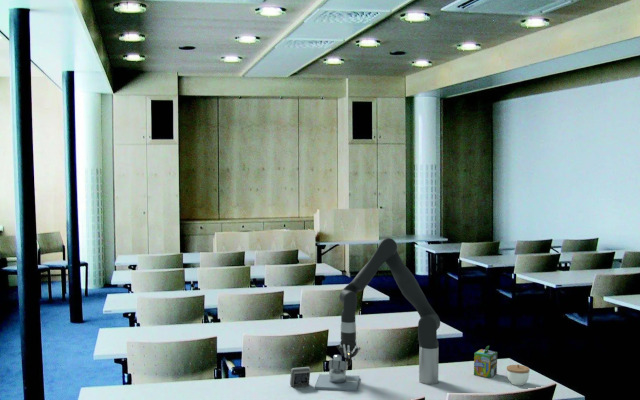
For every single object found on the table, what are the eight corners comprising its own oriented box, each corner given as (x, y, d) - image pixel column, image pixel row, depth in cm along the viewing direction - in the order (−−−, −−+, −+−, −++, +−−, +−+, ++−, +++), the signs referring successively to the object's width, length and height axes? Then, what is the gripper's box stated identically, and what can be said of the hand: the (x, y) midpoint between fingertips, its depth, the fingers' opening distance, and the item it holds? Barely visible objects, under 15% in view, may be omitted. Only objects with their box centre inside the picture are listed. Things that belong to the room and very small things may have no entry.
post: (346, 378, 351) (346, 353, 350) (345, 383, 343) (345, 358, 342) (330, 378, 351) (330, 353, 351) (328, 383, 344) (328, 357, 343)
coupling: (336, 369, 358) (337, 360, 359) (352, 370, 356) (353, 362, 356) (326, 368, 344) (327, 359, 344) (343, 369, 341) (344, 361, 342)
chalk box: (480, 370, 369) (480, 342, 368) (497, 374, 364) (497, 345, 363) (473, 375, 361) (473, 346, 361) (490, 378, 356) (490, 349, 355)
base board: (359, 378, 356) (359, 359, 355) (356, 391, 336) (356, 371, 336) (319, 376, 358) (319, 357, 358) (314, 389, 338) (314, 369, 338)
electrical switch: (308, 383, 347) (308, 365, 346) (311, 387, 342) (311, 369, 341) (289, 385, 344) (290, 367, 343) (292, 389, 339) (292, 371, 338)
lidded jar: (533, 384, 346) (534, 365, 346) (517, 388, 341) (518, 369, 340) (517, 378, 355) (517, 360, 355) (501, 382, 350) (502, 363, 349)
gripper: (363, 330, 352) (363, 365, 353) (341, 327, 360) (341, 361, 361) (355, 333, 346) (356, 369, 347) (332, 330, 353) (333, 364, 354)
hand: (348, 365), depth 354 cm, fingers closed
